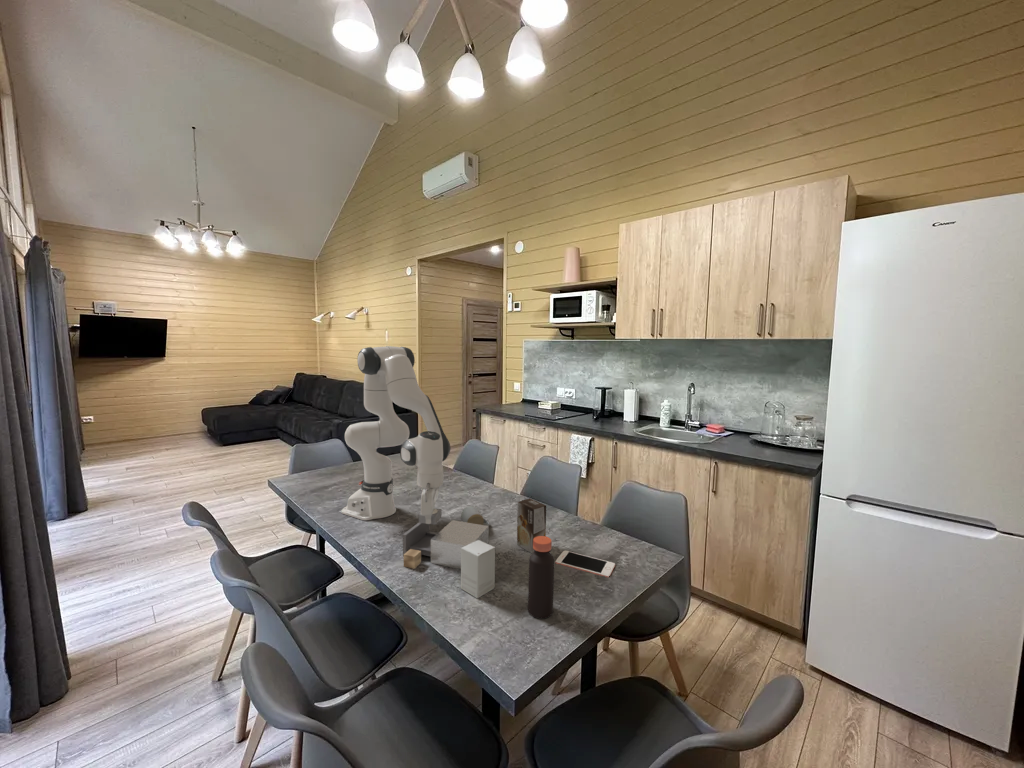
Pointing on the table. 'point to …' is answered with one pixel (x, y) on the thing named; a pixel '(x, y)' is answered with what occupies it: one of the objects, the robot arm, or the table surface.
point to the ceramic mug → (473, 516)
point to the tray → (418, 539)
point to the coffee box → (530, 522)
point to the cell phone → (586, 563)
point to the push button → (435, 516)
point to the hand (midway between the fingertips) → (430, 518)
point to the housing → (455, 542)
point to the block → (412, 558)
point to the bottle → (541, 578)
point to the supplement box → (477, 568)
